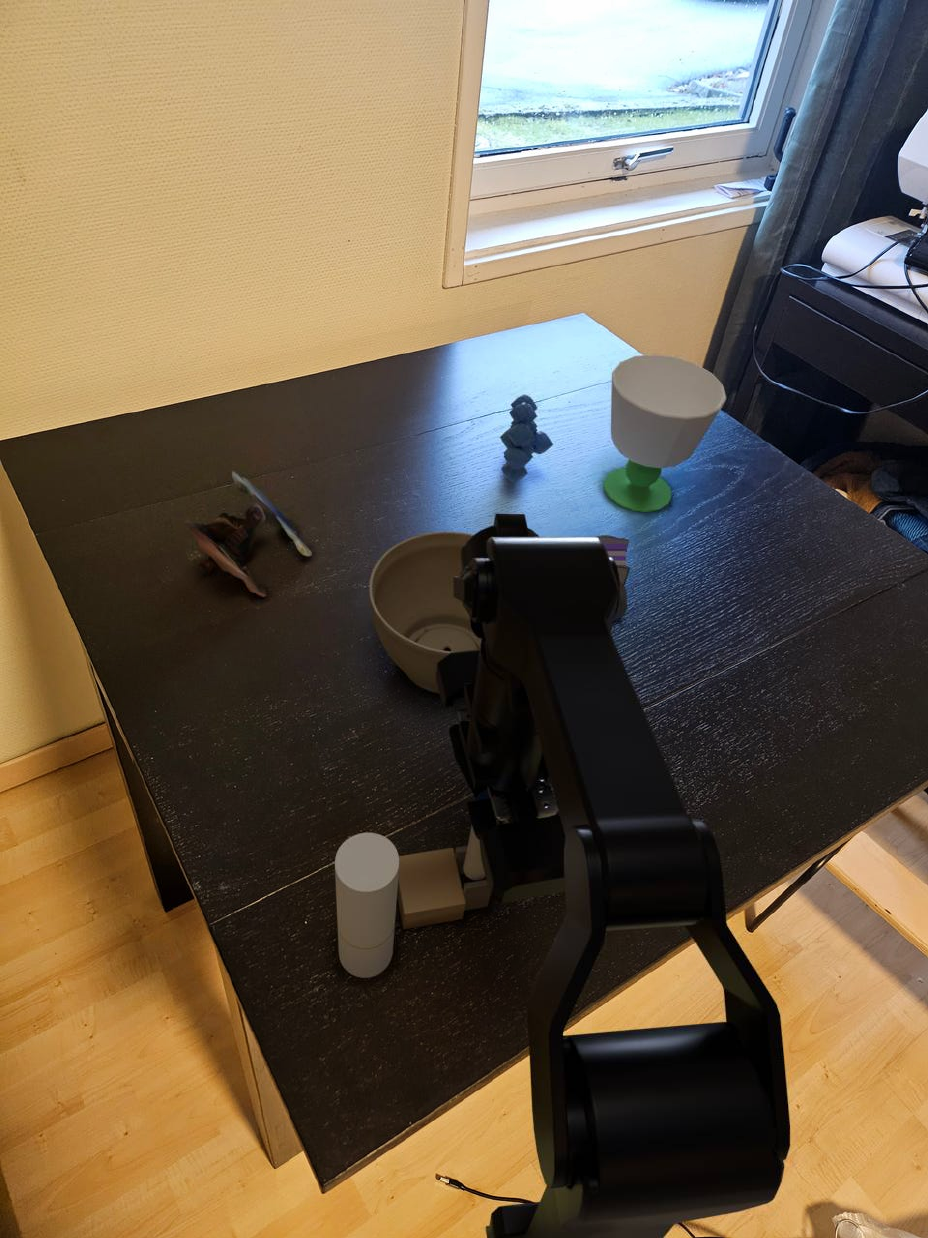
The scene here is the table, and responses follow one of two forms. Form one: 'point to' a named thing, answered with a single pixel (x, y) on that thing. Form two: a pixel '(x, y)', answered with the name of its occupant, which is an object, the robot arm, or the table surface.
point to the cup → (657, 424)
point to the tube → (366, 903)
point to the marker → (474, 852)
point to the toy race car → (618, 566)
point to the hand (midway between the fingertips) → (492, 823)
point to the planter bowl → (421, 604)
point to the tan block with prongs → (436, 888)
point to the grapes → (522, 439)
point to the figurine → (238, 537)
